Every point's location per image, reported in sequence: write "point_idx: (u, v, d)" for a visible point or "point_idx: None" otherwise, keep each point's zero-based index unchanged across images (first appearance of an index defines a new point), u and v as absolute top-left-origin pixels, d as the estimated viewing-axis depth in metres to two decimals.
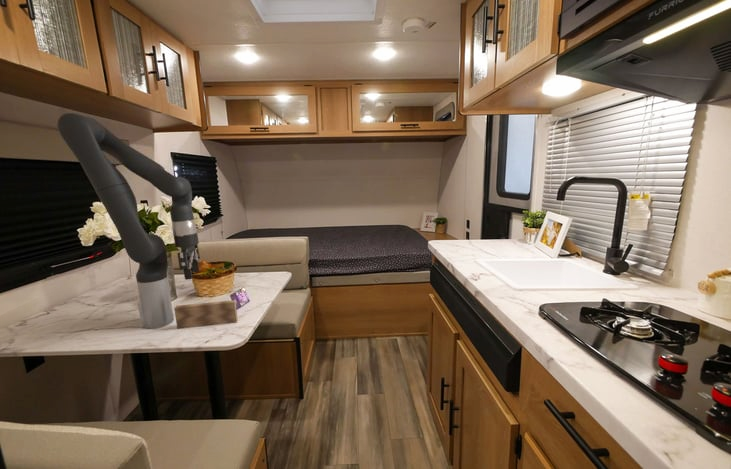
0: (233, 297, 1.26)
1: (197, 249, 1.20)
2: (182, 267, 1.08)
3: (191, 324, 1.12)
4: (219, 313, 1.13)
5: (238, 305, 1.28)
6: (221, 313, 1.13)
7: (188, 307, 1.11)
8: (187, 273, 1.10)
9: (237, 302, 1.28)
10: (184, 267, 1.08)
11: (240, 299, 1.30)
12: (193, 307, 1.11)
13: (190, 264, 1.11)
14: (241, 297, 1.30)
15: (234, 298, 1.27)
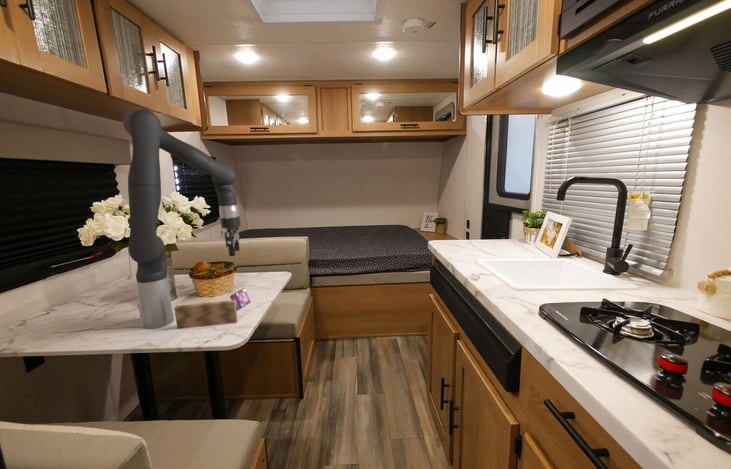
0: (233, 298, 1.26)
1: (238, 231, 1.38)
2: (228, 245, 1.26)
3: (191, 324, 1.12)
4: (219, 313, 1.13)
5: (238, 306, 1.27)
6: (221, 313, 1.13)
7: (188, 307, 1.11)
8: (231, 250, 1.28)
9: (237, 303, 1.27)
10: (230, 245, 1.26)
11: (240, 300, 1.29)
12: (193, 307, 1.11)
13: (234, 243, 1.29)
14: (241, 298, 1.30)
15: (234, 299, 1.26)
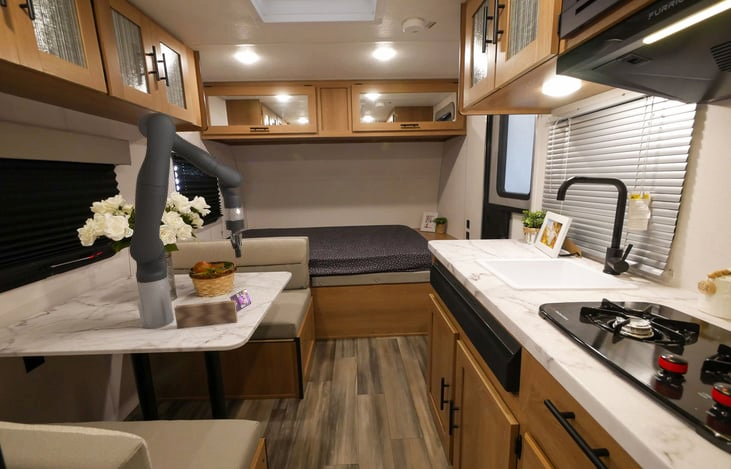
0: (233, 299, 1.25)
1: (241, 237, 1.40)
2: (235, 247, 1.33)
3: (191, 324, 1.12)
4: (219, 313, 1.13)
5: (238, 307, 1.26)
6: (221, 313, 1.13)
7: (188, 307, 1.11)
8: (238, 252, 1.35)
9: (237, 304, 1.26)
10: (236, 247, 1.33)
11: (241, 301, 1.28)
12: (193, 307, 1.11)
13: (239, 244, 1.36)
14: (242, 299, 1.28)
15: None
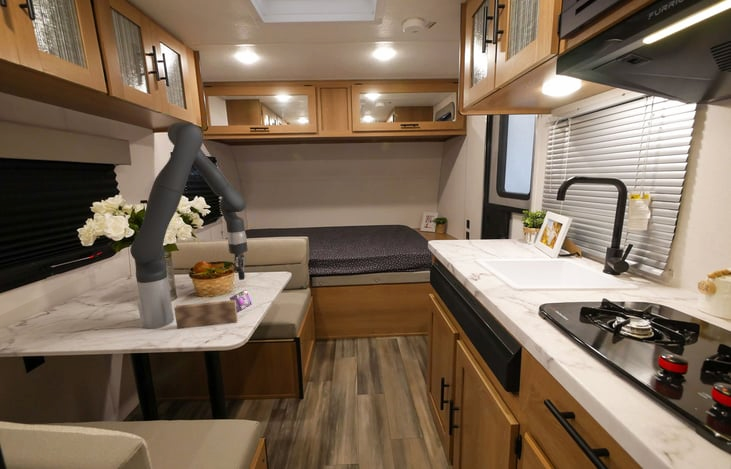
0: None
1: None
2: (238, 270, 1.35)
3: (191, 324, 1.12)
4: (219, 313, 1.13)
5: (238, 308, 1.25)
6: (221, 313, 1.13)
7: (188, 307, 1.11)
8: (241, 275, 1.37)
9: (237, 305, 1.25)
10: (240, 270, 1.35)
11: (241, 302, 1.27)
12: (193, 307, 1.11)
13: (243, 267, 1.37)
14: (242, 300, 1.28)
15: None
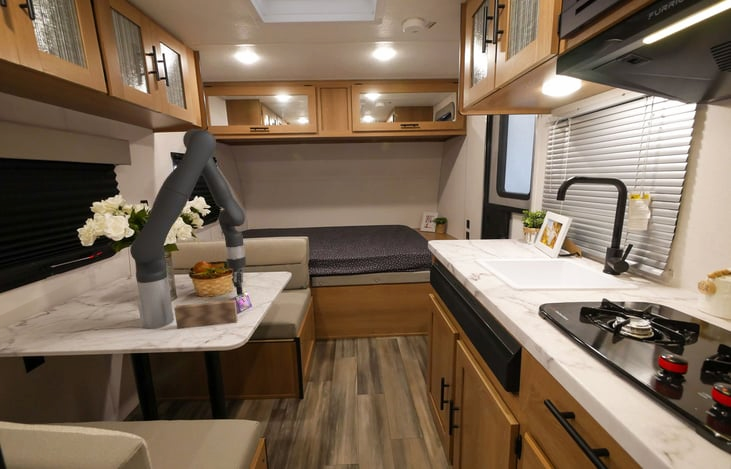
0: None
1: None
2: (236, 285, 1.32)
3: (191, 324, 1.12)
4: (219, 313, 1.13)
5: (238, 310, 1.23)
6: (221, 313, 1.13)
7: (188, 307, 1.11)
8: (239, 290, 1.34)
9: (237, 307, 1.23)
10: (238, 285, 1.32)
11: (241, 304, 1.25)
12: (193, 307, 1.11)
13: (241, 282, 1.35)
14: (242, 302, 1.26)
15: None
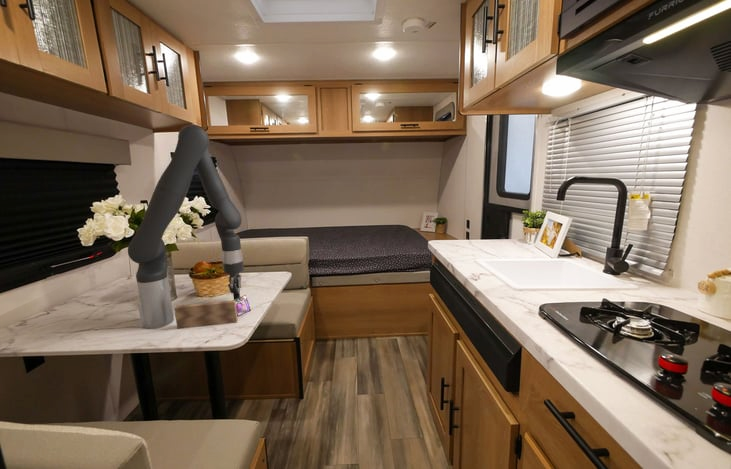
0: None
1: (240, 278, 1.32)
2: (233, 291, 1.25)
3: (191, 324, 1.12)
4: (219, 313, 1.13)
5: None
6: (221, 313, 1.13)
7: (188, 307, 1.11)
8: (236, 296, 1.27)
9: None
10: (235, 291, 1.25)
11: (239, 308, 1.22)
12: (193, 307, 1.11)
13: (238, 288, 1.27)
14: (240, 306, 1.22)
15: None
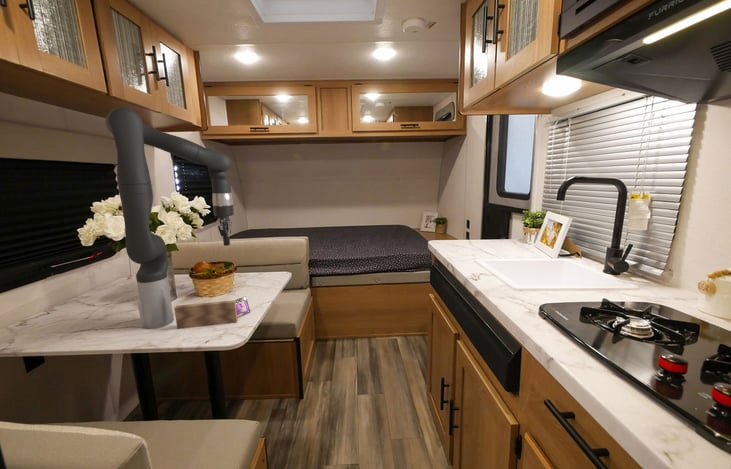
0: None
1: (230, 224, 1.34)
2: (223, 234, 1.27)
3: (191, 324, 1.12)
4: (219, 313, 1.13)
5: None
6: (221, 313, 1.13)
7: (188, 307, 1.11)
8: (226, 240, 1.29)
9: None
10: (224, 234, 1.27)
11: (238, 309, 1.20)
12: (193, 307, 1.11)
13: (228, 232, 1.30)
14: (239, 307, 1.21)
15: None
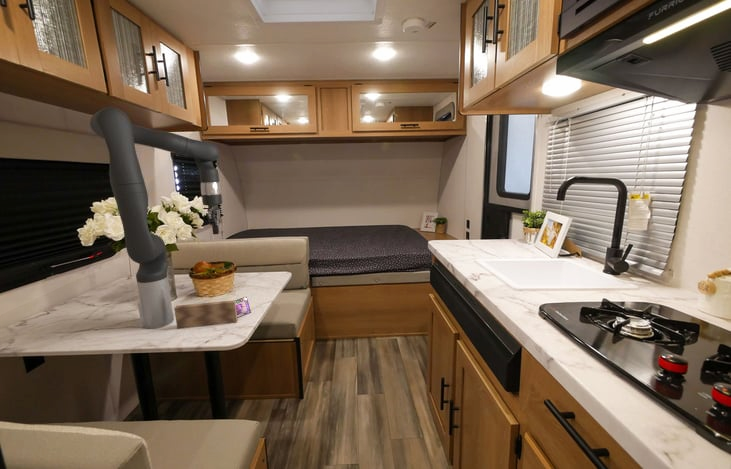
0: None
1: (219, 214, 1.36)
2: (212, 223, 1.29)
3: (191, 324, 1.12)
4: (219, 313, 1.13)
5: None
6: (221, 313, 1.13)
7: (188, 307, 1.11)
8: (215, 229, 1.32)
9: None
10: (213, 223, 1.30)
11: (238, 309, 1.20)
12: (193, 307, 1.11)
13: (217, 221, 1.32)
14: (240, 307, 1.20)
15: None
